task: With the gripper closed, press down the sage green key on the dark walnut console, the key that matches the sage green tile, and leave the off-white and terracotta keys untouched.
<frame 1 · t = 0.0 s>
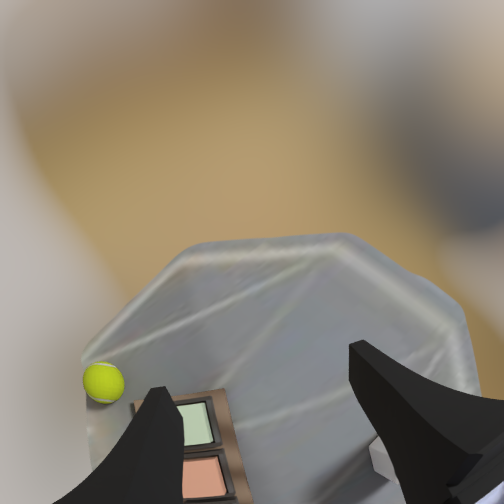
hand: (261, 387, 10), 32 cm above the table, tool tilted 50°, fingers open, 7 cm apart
key sage: (187, 425, 34), point 4 cm above the table, slide at 0.0 cm
key terracotta: (200, 477, 30), point 4 cm above the table, slide at 0.0 cm
console: (196, 472, 33), on the table
tennis ball: (114, 384, 40), on the table
jar: (393, 448, 33), on the table
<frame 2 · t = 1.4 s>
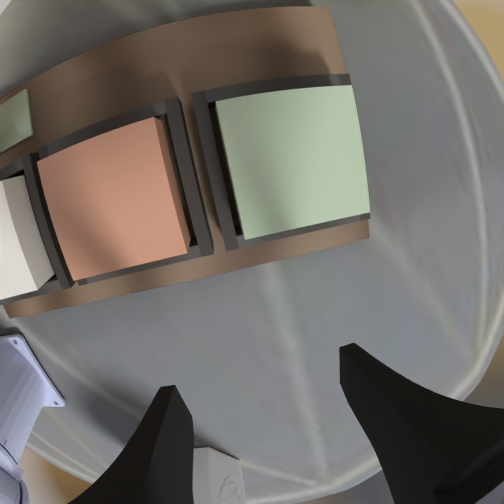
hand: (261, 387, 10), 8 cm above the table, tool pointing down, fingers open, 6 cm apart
key sage: (294, 157, 12), point 4 cm above the table, slide at 0.0 cm
key terracotta: (112, 200, 12), point 4 cm above the table, slide at 0.0 cm
console: (129, 162, 15), on the table
jar: (199, 463, 25), on the table
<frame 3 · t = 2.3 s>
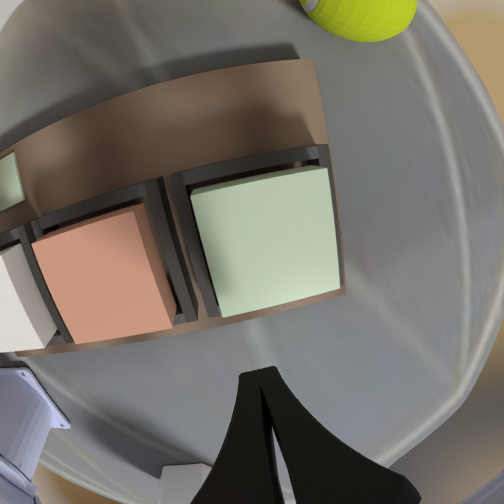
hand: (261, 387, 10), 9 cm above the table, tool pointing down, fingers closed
key sage: (268, 239, 13), point 4 cm above the table, slide at 0.0 cm
key terracotta: (104, 277, 13), point 4 cm above the table, slide at 0.0 cm
console: (117, 226, 16), on the table
key white: (1, 303, 12), point 4 cm above the table, slide at 0.0 cm
tennis ball: (333, 11, 13), on the table
jar: (194, 476, 26), on the table
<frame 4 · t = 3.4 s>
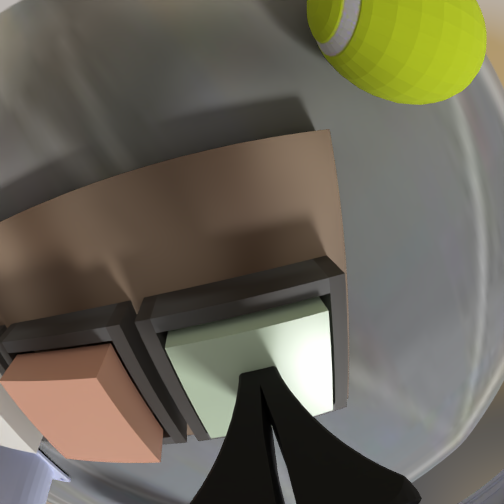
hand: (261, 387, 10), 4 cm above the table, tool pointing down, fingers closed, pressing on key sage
key sage: (257, 371, 11), point 3 cm above the table, slide at 1.1 cm, touching gripper
key terracotta: (82, 412, 10), point 4 cm above the table, slide at 0.0 cm
console: (91, 335, 13), on the table
tennis ball: (356, 44, 10), on the table
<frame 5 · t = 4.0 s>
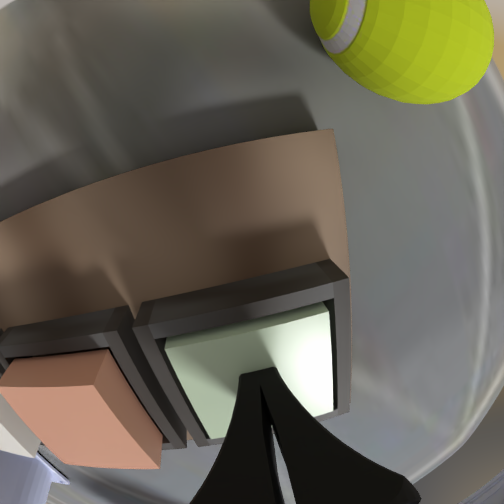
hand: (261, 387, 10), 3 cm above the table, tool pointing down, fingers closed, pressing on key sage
key sage: (257, 371, 11), point 3 cm above the table, slide at 1.5 cm, touching gripper
key terracotta: (79, 417, 9), point 4 cm above the table, slide at 0.0 cm
console: (88, 339, 13), on the table
tennis ball: (360, 42, 10), on the table
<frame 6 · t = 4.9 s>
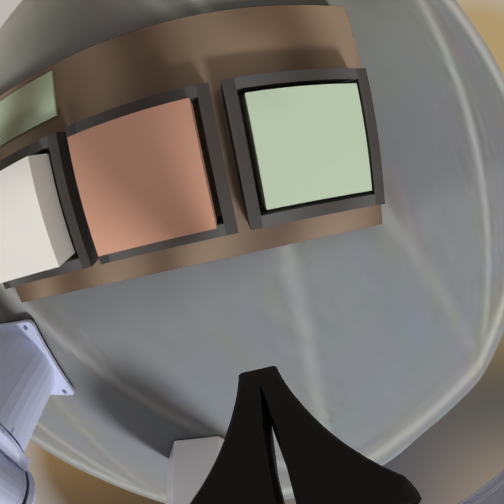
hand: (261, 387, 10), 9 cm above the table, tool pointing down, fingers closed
key sage: (308, 142, 14), point 3 cm above the table, slide at 1.4 cm
key terracotta: (142, 177, 12), point 4 cm above the table, slide at 0.0 cm
console: (153, 145, 15), on the table
key white: (14, 222, 12), point 4 cm above the table, slide at 0.0 cm
jar: (207, 454, 26), on the table
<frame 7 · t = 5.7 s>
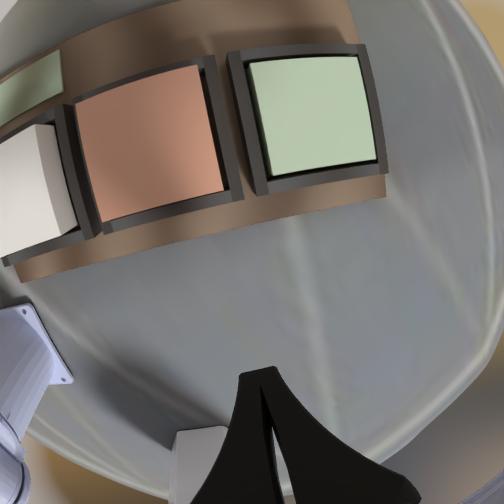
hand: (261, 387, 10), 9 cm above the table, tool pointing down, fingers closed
key sage: (311, 112, 14), point 3 cm above the table, slide at 1.4 cm
key terracotta: (149, 143, 12), point 4 cm above the table, slide at 0.0 cm
console: (158, 120, 15), on the table
key white: (17, 194, 12), point 4 cm above the table, slide at 0.0 cm
jar: (211, 445, 25), on the table
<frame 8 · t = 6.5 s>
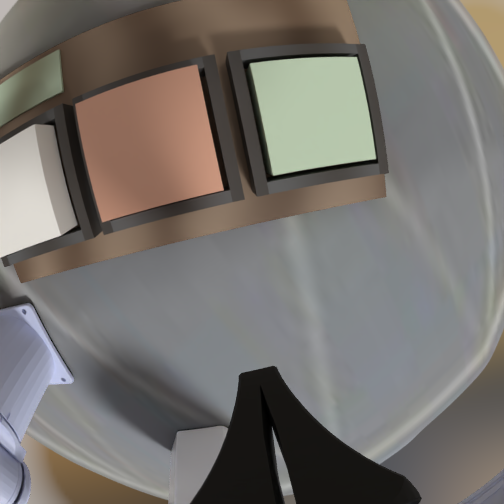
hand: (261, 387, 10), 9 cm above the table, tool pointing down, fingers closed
key sage: (311, 112, 14), point 3 cm above the table, slide at 1.4 cm
key terracotta: (149, 143, 12), point 4 cm above the table, slide at 0.0 cm
console: (158, 120, 15), on the table
key white: (17, 194, 12), point 4 cm above the table, slide at 0.0 cm
jar: (211, 445, 25), on the table
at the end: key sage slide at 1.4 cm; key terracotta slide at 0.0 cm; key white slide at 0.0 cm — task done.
